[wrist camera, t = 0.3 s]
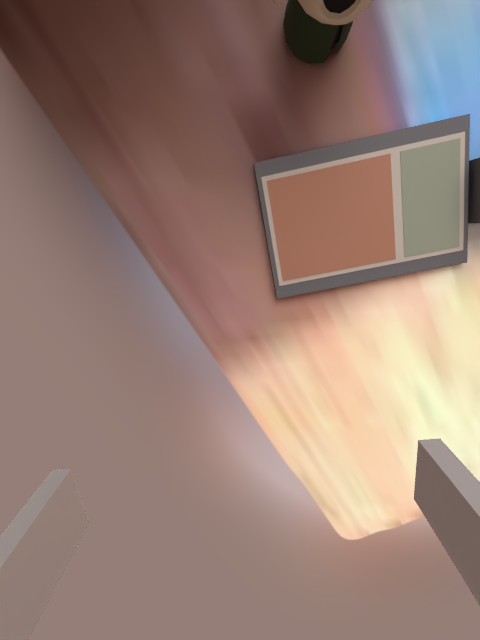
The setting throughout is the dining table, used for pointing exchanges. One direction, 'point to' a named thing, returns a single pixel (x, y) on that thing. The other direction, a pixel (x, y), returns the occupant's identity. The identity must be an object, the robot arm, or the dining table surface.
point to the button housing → (474, 191)
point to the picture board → (367, 207)
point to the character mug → (319, 25)
